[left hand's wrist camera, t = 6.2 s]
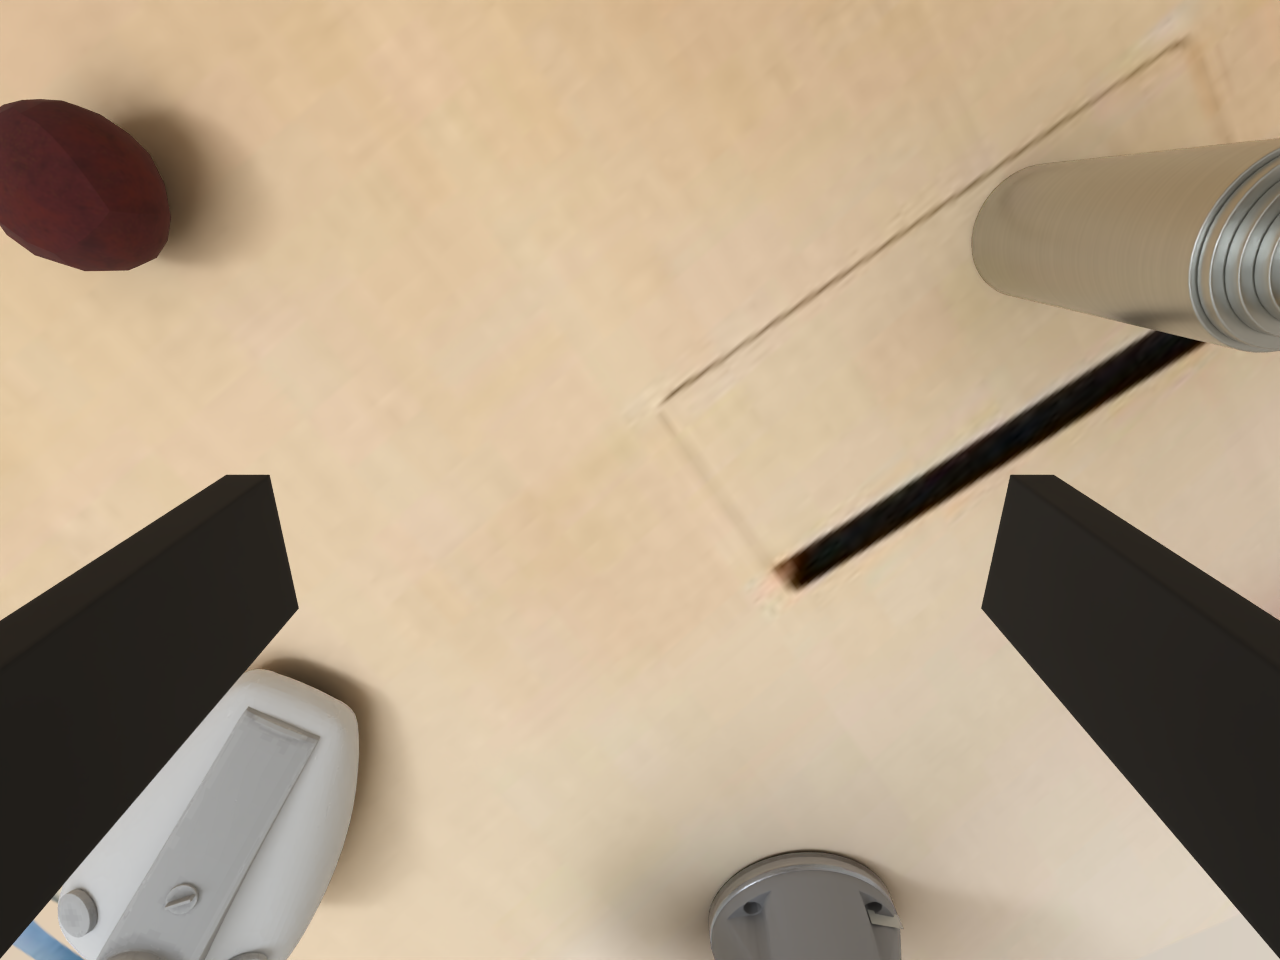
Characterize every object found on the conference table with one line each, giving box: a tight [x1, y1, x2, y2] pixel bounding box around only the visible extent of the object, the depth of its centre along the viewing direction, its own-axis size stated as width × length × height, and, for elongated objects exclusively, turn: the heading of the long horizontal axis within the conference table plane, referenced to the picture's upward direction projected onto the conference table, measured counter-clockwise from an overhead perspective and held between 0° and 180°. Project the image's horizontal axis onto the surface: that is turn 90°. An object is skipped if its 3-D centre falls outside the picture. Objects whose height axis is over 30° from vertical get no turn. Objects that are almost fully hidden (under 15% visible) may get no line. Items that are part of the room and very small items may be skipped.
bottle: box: [972, 138, 1280, 352], centre depth 27 cm, size 7×7×21 cm
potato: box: [0, 99, 171, 271], centre depth 32 cm, size 7×8×7 cm
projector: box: [58, 669, 359, 960], centre depth 45 cm, size 22×23×15 cm
